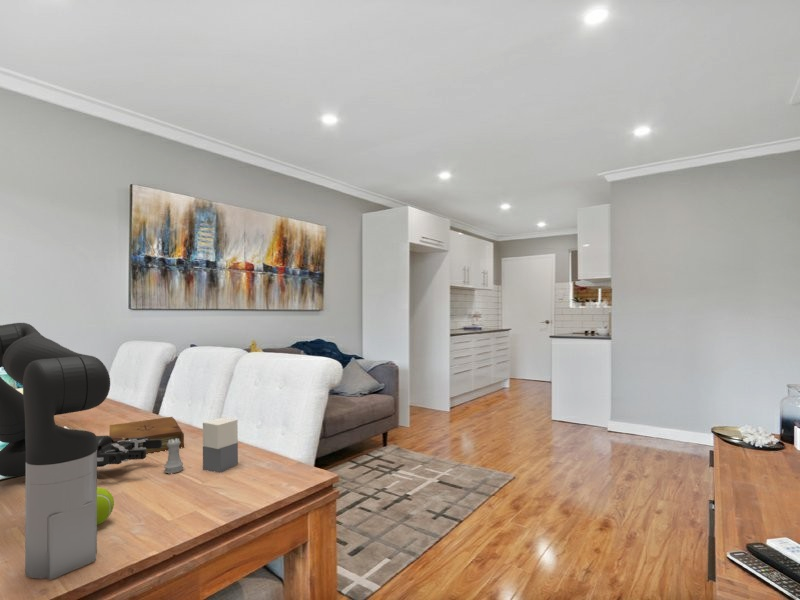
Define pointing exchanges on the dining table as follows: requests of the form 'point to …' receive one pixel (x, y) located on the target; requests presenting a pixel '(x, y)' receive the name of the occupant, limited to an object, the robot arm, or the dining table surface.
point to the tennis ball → (104, 504)
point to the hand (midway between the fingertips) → (153, 448)
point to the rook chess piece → (173, 457)
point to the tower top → (220, 433)
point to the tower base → (220, 458)
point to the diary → (149, 431)
